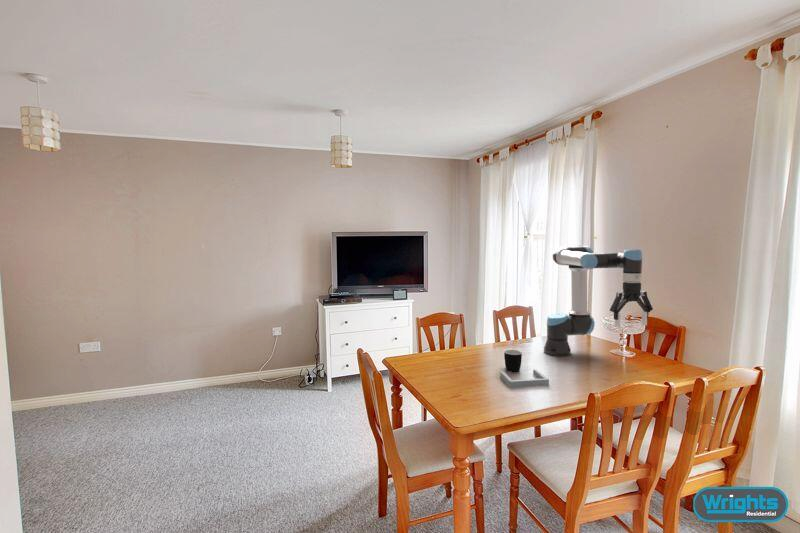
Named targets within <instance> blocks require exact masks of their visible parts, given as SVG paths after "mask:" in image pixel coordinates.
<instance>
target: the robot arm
mask: <svg viewBox="0 0 800 533" xmlns="http://www.w3.org/2000/svg"><path fill="white" fill-rule="evenodd" d="M642 253H643V252H642V250H641V249H636V248H635V249H634V248H633V249H629V248H628V249H627V248H626V249H624V250H623V252H617V251H616V252H601V253H600V252H598V253H594V251H593V250H592V248H591V247H590V246H588V245H569V246H568V245H563V246H559V247H557V248H556V249H554V251H553V253H552V260H553V261H554V263H556V264H557V265H560V266H568V270H570V271H571V272H570V273H571V278H570V279H571V287H570V288H571V310H569V312H568V314H567V313H563V312H562V313H553V314H550V315H548V316H547V319H546V342H545V344H544V347H543V352H544V353H545V354H546V355H549V356H555V357H568V356H570V355H571V354H572V352H571V351H572V350H571V347H570V344H569V340H568V338H569V337H568V336H584V335H585V336H586V335H590V334H591V333H593V331H594V329H595V320H594V319H595V318H594V317H593V315H591V312H590V311H588V270H593V269H617V268H618V269H622V281H623V282H622V292H620V291H619V292H618V291H616V295H615V298H614V300H613V302H612V305H610V309H609V311H610V312H612V313H613V319H614V326H615V327H617V328H620V327H621V313H620V312H621V310H622V309H623V308H624V307H625V306H626V305H627V303H629V302H636V304H638V306H639V307H640V309H642V310H641V322H640V323H641V325H642V326H648V319H649V313H651V311H653V310H654V309H653V306H652V304H651V302H650V299H649V297H648V292H647V291H644V290H642V268H643V254H642Z"/></svg>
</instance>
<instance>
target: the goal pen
mask: <svg viewBox="0 0 800 533" xmlns="http://www.w3.org/2000/svg"><path fill="white" fill-rule="evenodd" d="M532 373H533V374H532V375H533V377H535V378H532V379H531V378H528V379H515V380H514V379H512V378H510V377H509V375H508V374H507V373H506V372H505V371H504V370H502V371H499V376H500V379H502V381H503V382H504V383H505V384H506V385H507V386H508V387H509V388H511V389H512V388H513V389H514V388H529V387H530V388H531V387H546V386H550V379H549V378H548V377H547V376H545V375H544V374H542V373H541V372H540V371H539V370H538V369H534V368H533V370H532Z"/></svg>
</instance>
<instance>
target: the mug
mask: <svg viewBox="0 0 800 533" xmlns="http://www.w3.org/2000/svg"><path fill="white" fill-rule="evenodd" d="M522 357H523V354H522V351H520V350H517V349H506V350H504V352H503V358H504V366H505V370H506V371H507V372H509V373H519V372H520V370H521V367H522V366H521V365H522Z"/></svg>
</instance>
